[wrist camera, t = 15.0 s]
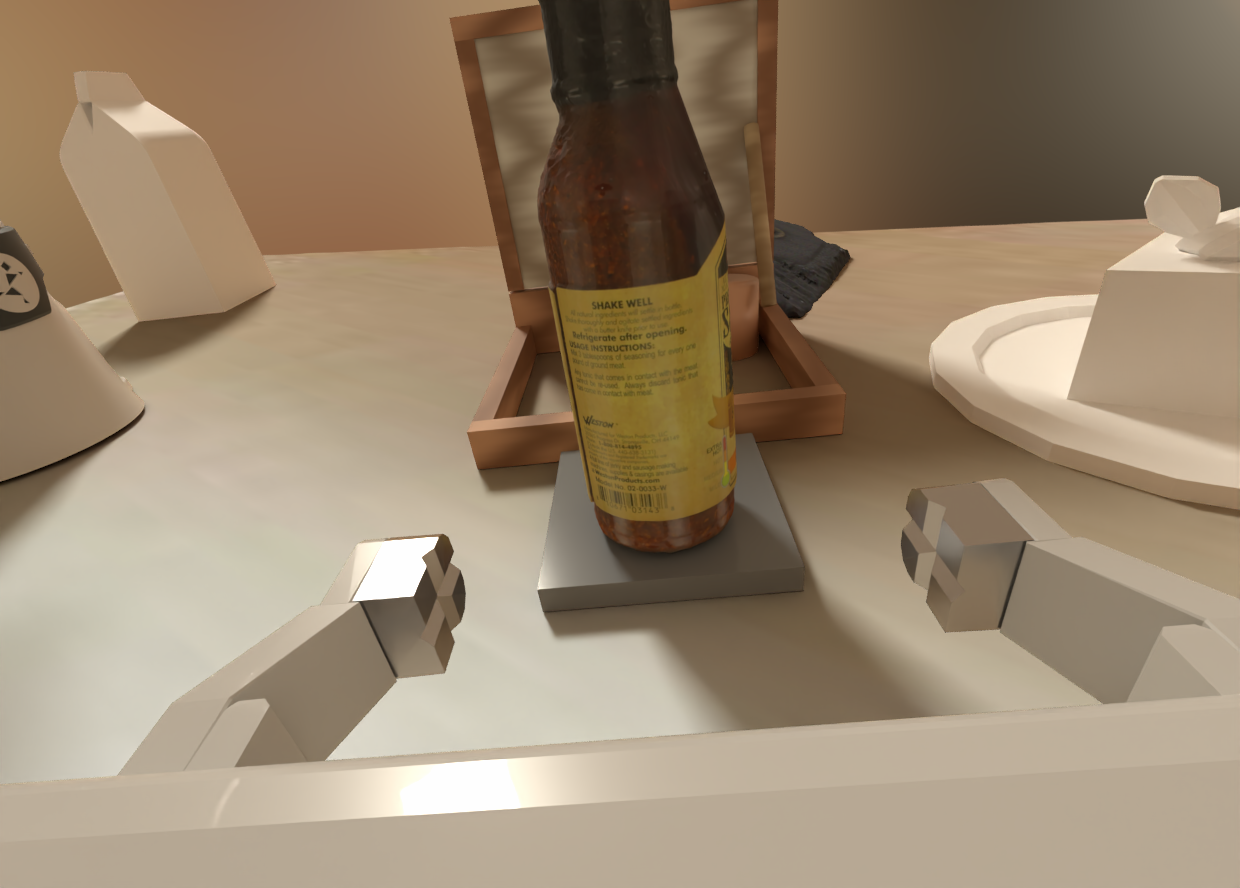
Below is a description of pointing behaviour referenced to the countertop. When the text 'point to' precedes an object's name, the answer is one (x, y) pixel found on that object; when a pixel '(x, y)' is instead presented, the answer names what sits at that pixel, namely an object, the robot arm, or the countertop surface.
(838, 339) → the countertop surface
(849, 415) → the countertop surface
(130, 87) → the milk
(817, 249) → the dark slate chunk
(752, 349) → the brown rounded block
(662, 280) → the sauce bottle
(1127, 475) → the dish
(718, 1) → the cedar box
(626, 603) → the slate tile
